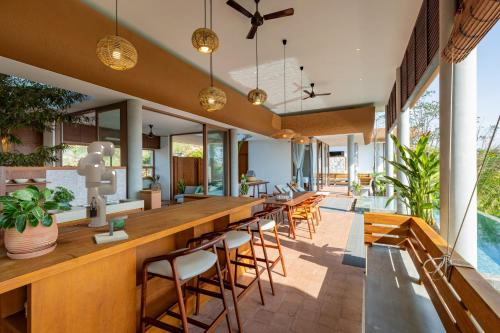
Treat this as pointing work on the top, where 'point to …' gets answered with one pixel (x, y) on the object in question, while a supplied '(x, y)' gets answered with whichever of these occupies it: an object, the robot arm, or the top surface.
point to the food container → (118, 222)
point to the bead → (89, 211)
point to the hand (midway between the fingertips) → (93, 215)
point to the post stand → (110, 235)
